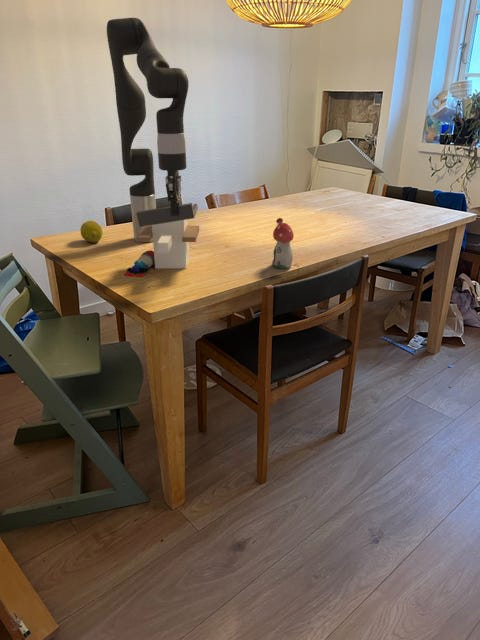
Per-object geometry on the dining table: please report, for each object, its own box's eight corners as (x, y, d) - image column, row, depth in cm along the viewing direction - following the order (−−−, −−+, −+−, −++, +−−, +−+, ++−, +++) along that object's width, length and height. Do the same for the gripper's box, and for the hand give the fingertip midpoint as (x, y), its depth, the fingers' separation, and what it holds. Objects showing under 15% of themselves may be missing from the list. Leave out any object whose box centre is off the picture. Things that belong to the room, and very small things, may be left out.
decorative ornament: (271, 260, 161) (272, 216, 154) (290, 260, 161) (292, 216, 154) (272, 270, 152) (274, 223, 146) (293, 270, 152) (295, 223, 146)
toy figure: (144, 282, 147) (164, 260, 159) (140, 268, 145) (161, 246, 156) (123, 281, 150) (144, 259, 161) (119, 268, 147) (140, 246, 159)
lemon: (105, 244, 179) (102, 223, 175) (83, 246, 176) (80, 225, 173) (101, 237, 188) (98, 217, 184) (80, 239, 185) (77, 218, 182)
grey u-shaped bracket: (147, 216, 149) (144, 203, 147) (197, 208, 148) (195, 195, 146) (139, 226, 137) (136, 213, 135) (194, 218, 136) (191, 204, 134)
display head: (148, 258, 163) (144, 208, 156) (201, 258, 163) (199, 208, 156) (135, 281, 143) (129, 225, 136) (195, 281, 143) (192, 225, 136)
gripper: (182, 153, 123) (186, 220, 130) (188, 148, 135) (190, 209, 143) (153, 153, 123) (158, 220, 130) (161, 148, 135) (165, 209, 143)
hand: (175, 214), depth 136 cm, fingers closed on grey u-shaped bracket, 2 cm apart
